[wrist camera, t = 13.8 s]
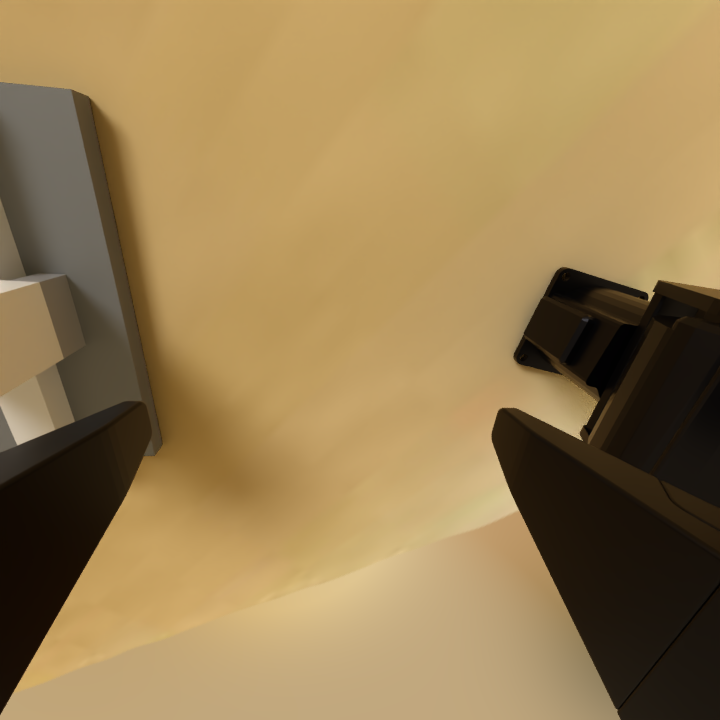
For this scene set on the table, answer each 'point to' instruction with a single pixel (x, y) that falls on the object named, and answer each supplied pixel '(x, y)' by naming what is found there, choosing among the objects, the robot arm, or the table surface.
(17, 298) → the block
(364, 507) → the table surface
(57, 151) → the mounting board
